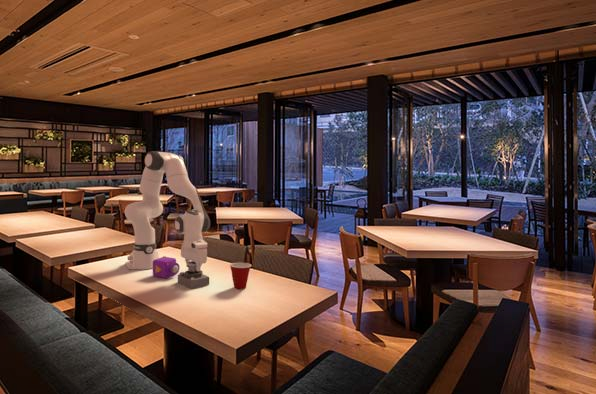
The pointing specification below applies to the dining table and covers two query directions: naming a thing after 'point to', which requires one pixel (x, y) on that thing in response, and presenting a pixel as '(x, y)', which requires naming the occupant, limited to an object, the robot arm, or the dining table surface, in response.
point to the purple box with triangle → (165, 267)
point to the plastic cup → (240, 274)
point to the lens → (192, 267)
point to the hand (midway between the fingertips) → (193, 268)
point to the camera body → (193, 279)
